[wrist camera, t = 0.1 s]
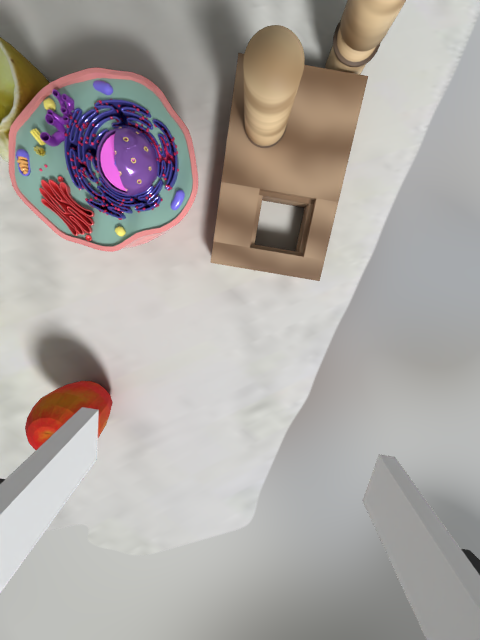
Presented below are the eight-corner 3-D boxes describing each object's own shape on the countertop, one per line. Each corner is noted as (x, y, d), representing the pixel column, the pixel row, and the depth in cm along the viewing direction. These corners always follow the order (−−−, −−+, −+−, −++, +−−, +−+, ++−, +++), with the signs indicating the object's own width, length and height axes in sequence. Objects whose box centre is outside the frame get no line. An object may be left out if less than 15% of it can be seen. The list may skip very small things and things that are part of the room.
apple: (130, 379, 43) (86, 427, 31) (118, 425, 45) (72, 486, 33) (73, 360, 42) (7, 402, 30) (63, 408, 44) (-2, 464, 33)
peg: (327, 40, 31) (389, -135, 17) (368, 47, 31) (462, -123, 17) (318, 87, 32) (370, -43, 18) (358, 94, 32) (439, -32, 18)
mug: (-48, 44, 31) (-126, -11, 22) (55, 60, 33) (22, 16, 25) (-9, 167, 36) (-59, 161, 27) (77, 172, 39) (56, 168, 30)
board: (239, 76, 32) (233, -50, 19) (353, 97, 32) (430, -14, 19) (214, 261, 38) (195, 267, 24) (312, 277, 38) (348, 292, 24)
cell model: (48, 111, 34) (-47, 44, 23) (207, 111, 33) (187, 42, 22) (68, 250, 38) (-4, 250, 27) (209, 252, 37) (194, 252, 27)
